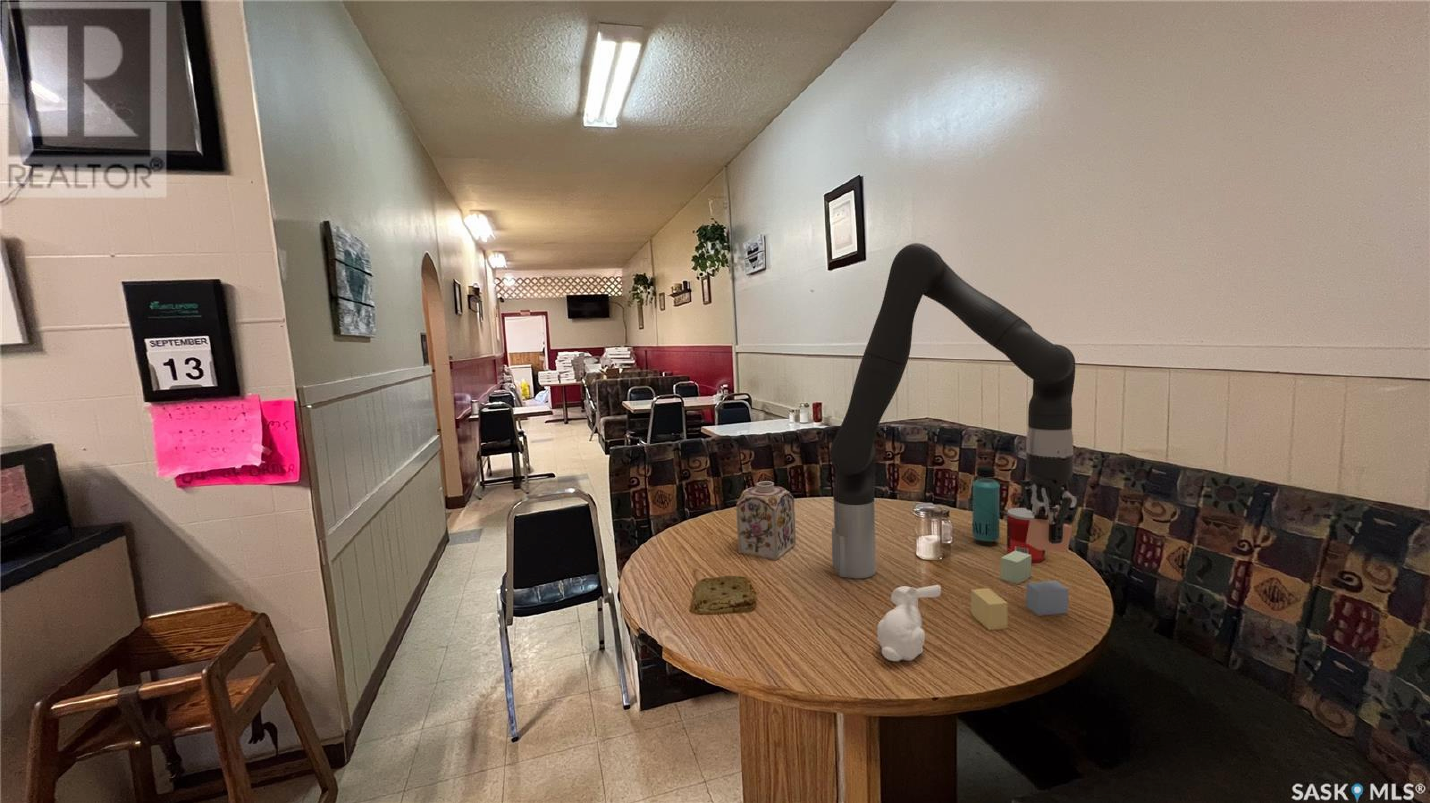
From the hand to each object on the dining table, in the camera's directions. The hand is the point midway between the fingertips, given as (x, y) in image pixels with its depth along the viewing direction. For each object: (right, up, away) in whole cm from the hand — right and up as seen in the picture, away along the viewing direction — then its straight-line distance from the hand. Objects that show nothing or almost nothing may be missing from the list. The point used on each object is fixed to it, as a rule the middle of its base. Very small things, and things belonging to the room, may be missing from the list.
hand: (1047, 538), depth 103 cm
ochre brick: (-12, -15, -1) cm, 20 cm away
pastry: (-62, -17, +13) cm, 66 cm away
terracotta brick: (0, -2, 0) cm, 2 cm away
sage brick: (+3, -13, +16) cm, 20 cm away
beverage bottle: (+6, -10, +36) cm, 38 cm away
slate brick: (+1, -14, +2) cm, 14 cm away
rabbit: (-31, -17, -9) cm, 36 cm away
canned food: (+11, -11, +26) cm, 31 cm away
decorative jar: (-50, -13, +39) cm, 65 cm away
